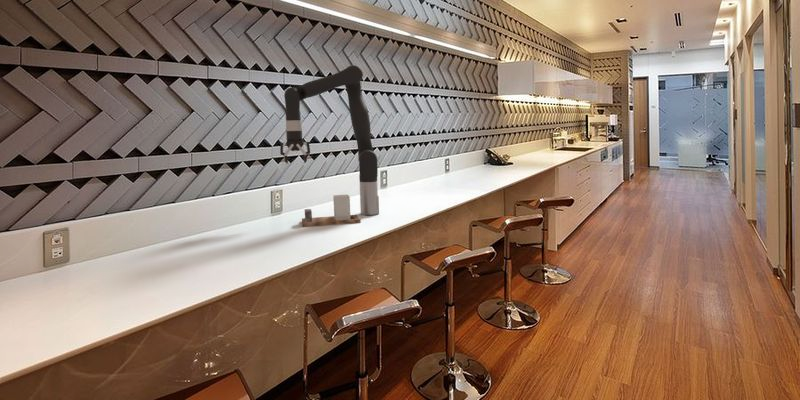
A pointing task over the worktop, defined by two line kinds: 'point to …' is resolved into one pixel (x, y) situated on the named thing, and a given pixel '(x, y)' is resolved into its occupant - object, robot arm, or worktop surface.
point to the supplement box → (341, 207)
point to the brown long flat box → (325, 220)
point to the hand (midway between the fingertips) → (296, 163)
